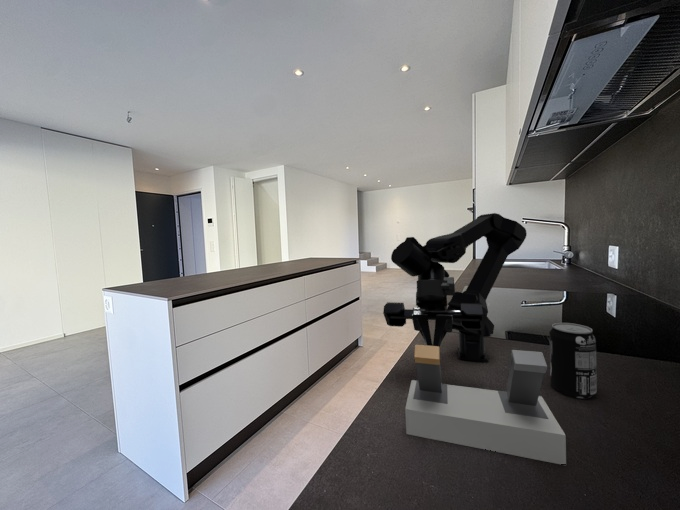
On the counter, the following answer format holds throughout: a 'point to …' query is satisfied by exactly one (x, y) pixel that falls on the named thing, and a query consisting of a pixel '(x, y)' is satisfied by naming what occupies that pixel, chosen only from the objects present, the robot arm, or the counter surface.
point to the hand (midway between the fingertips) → (433, 357)
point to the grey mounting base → (485, 422)
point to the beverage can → (573, 360)
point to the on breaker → (525, 377)
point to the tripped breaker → (428, 368)
